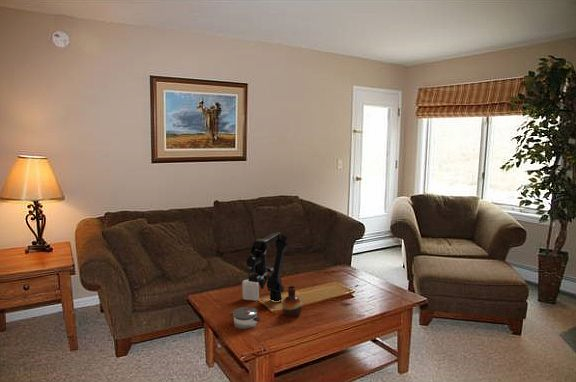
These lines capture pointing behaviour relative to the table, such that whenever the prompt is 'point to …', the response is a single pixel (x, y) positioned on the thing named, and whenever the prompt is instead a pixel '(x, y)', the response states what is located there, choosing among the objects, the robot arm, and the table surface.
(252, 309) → the cooker lid
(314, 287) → the table surface
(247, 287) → the photo printer
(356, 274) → the table surface
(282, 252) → the robot arm
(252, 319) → the cooker pot
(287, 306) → the vase
